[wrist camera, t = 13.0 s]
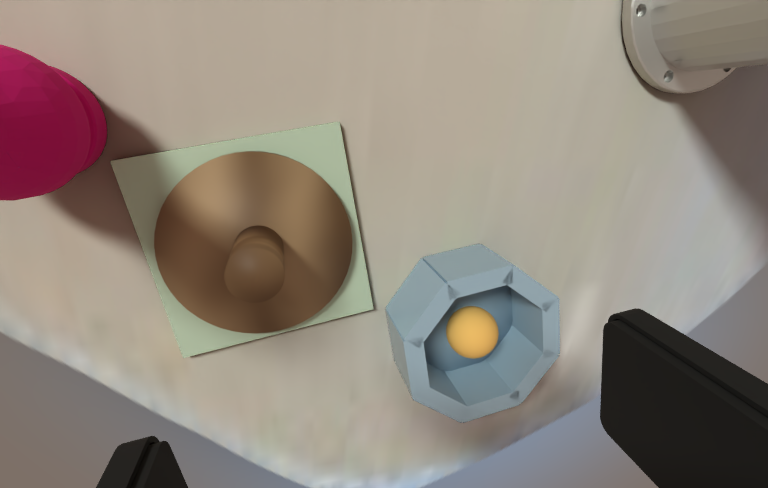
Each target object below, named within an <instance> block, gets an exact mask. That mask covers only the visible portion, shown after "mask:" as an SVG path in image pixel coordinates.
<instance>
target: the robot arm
mask: <svg viewBox="0 0 768 488" xmlns="http://www.w3.org/2000/svg"><path fill="white" fill-rule="evenodd" d="M622 27H623V38H624V42H625V46H626V50H627V54H628V56H629V58H630V60H631V63H632V65H633V67H634V68H635V70H636V71H637V72H638V74H639V75H640V76H641V78H642V79H644V80H645V81H646V82H647V83H648V84H649V85H651V86H652V87H654V88H656V89H658V90H660V91H663V92H668V93H692V92H698V91H702V90H705V89H707V88H709V87H712V86H714V85H716V84H717V83H719V82H720V81H722V80H723V79H725V78H726V77H727V76H728V75H729V74H731V73H732V72H733V71H734V70H735V69H736V68H737V67H745V66H756V65H766V64H768V0H623V11H622ZM600 419H601V423H602V425H603V427H604V429H605V431H606V432H607V434H608V435H609V436H610V437H611V438H612V439H613V440H614V441H615V442H616V443H617V444H618V445H619V446H620V447H621V448H622V450H623V451H624V452H625V453H626V454H627V455H628V456H629V457H630V458H631V459H632V460H633V461H634V462H635V463H636V464H637V465H638V466H639V468H641V470H642V471H643V472H644V473H645V474H646V475H647V476H648V477H649V478H650V479H651V480H652V481H653V482H654V483H655V484H656V485H657V486H658V487H659V488H768V384H767V383H765V382H764V381H762V380H760V379H758V378H757V377H755V376H753V375H752V374H750V373H748V372H747V371H745V370H743V369H742V368H740V367H738V366H736V365H735V364H733V363H731V362H729V361H728V360H726V359H725V358H723V357H721V356H719V355H718V354H716V353H714V352H713V351H711V350H709V349H708V348H706V347H704V346H703V345H701V344H699V343H698V342H696V341H694V340H692V339H691V338H689V337H687V336H686V335H684V334H682V333H681V332H679V331H677V330H676V329H674V328H672V327H670V326H669V325H667V324H665V323H664V322H662V321H660V320H659V319H657V318H655V317H654V316H652V315H650V314H648V313H647V312H645V311H643V310H641V309H632V310H628V311H624V312H620V313H616V314H613V315H611V316H610V318H609V319H608V323H606V324H605V326H604V329H603V355H602V382H601V410H600ZM96 488H188V486H187V484H186V482H185V480H184V477H183V475H182V473H181V470H180V468H179V466H178V463H177V461H176V459H175V457H174V454H173V452H172V450H171V447H170V445H169V444H168V442H166V441H162V442H159V440H158V439H157V438H156V437H155V436H150V437H146V438H143V439H139V440H135V441H131V442H127V443H123V444H121V445H119V446H118V447H117V449H116V450H115V452H114V454H113V456H112V458H111V459H110V461H109V464H108V465H107V467H106V469H105V471H104V473H103V475H102V477H101V479H100V481H99V483H98V485H97V487H96Z"/></svg>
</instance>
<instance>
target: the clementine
mask: <svg viewBox="0 0 768 488" xmlns="http://www.w3.org/2000/svg"><path fill="white" fill-rule="evenodd" d="M446 336H447V340H448V342H449V344H450V346H451V347H452V349H453V350H454V351H455V352H456V353H458V354H459V355H461V356H463V357H466V358H471V359H475V358H481V357H483V356H486V355H487V354H489V353H490V352H491V351H492V350H493V349H494V347H495V346H496V344H497V341H498V336H499V332H498V326H497V323H496V321H495V319H494V318H493V316H492V315H491V314H490V313H489V312H487V311H486V310H484V309H482V308H480V307H476V306H466V307H463V308H460V309H458V310H457V311H455V312H454V313H453V314H452V315H451V317H450V318H449V320H448V323H447V326H446Z"/></svg>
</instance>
